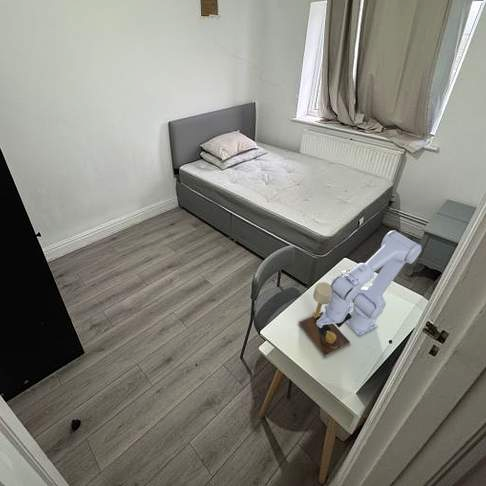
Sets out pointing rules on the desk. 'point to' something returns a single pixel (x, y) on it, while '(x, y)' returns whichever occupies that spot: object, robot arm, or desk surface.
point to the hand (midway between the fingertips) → (329, 329)
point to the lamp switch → (330, 337)
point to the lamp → (321, 296)
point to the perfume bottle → (345, 272)
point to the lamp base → (319, 340)
